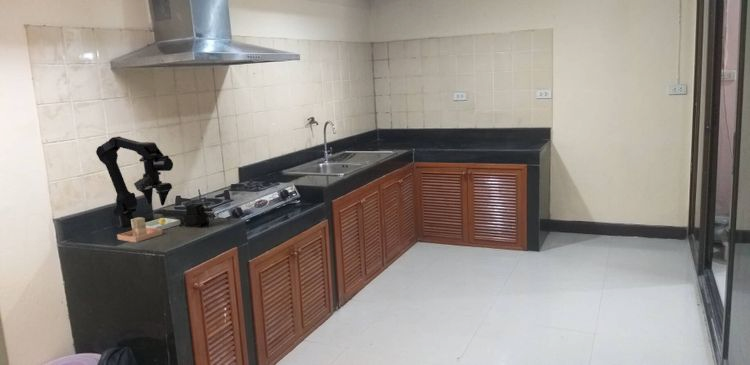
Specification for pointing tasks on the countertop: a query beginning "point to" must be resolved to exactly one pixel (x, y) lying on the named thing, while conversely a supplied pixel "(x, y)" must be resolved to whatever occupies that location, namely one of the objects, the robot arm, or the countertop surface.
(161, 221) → the mustard ball
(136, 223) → the birch block
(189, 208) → the toy
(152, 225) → the grey tub
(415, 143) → the countertop surface
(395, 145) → the countertop surface
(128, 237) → the terracotta dish
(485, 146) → the countertop surface
